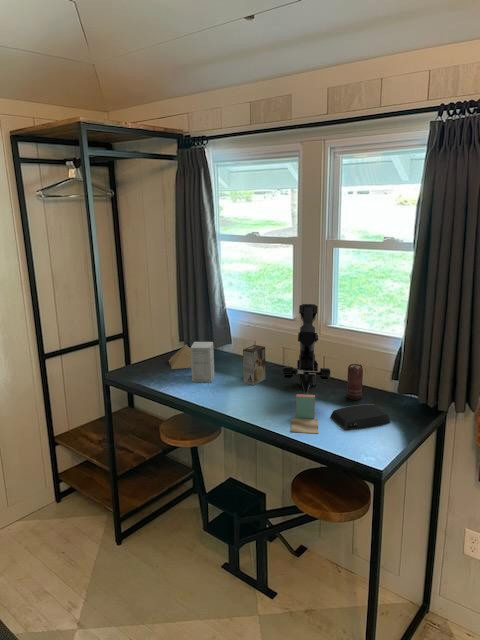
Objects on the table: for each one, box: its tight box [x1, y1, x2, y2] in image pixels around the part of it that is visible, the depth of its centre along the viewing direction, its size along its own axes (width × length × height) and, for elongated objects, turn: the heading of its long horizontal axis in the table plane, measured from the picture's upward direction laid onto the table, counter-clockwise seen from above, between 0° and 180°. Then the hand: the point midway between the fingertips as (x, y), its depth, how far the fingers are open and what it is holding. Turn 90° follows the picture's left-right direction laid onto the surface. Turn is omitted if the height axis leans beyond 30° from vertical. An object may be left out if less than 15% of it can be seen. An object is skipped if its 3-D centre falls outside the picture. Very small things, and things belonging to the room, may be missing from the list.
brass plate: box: [290, 417, 319, 434], centre depth 184 cm, size 11×10×1 cm
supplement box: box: [189, 341, 215, 383], centre depth 229 cm, size 10×9×17 cm
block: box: [295, 393, 316, 419], centre depth 189 cm, size 2×7×9 cm, turn 82°
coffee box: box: [242, 344, 266, 386], centre depth 225 cm, size 9×6×16 cm
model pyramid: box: [168, 344, 191, 370], centre depth 252 cm, size 17×17×10 cm
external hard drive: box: [329, 403, 391, 431], centre depth 187 cm, size 13×19×4 cm
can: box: [346, 363, 364, 401], centre depth 206 cm, size 6×6×14 cm
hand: (305, 393), depth 194 cm, fingers closed
